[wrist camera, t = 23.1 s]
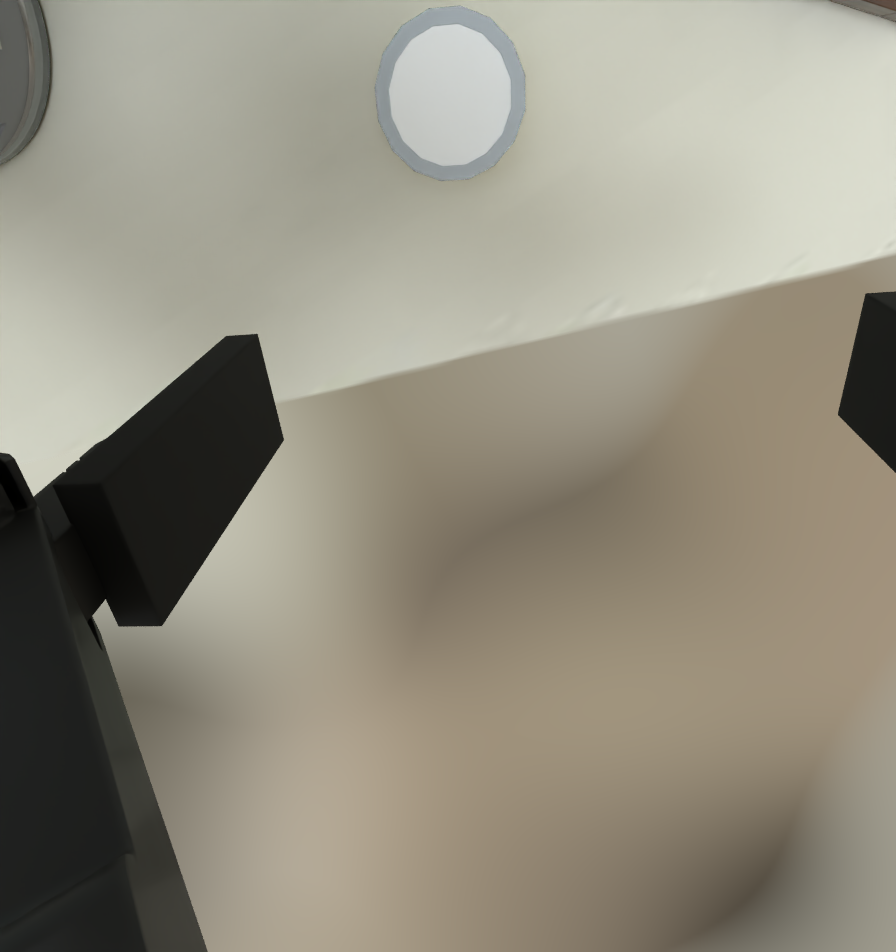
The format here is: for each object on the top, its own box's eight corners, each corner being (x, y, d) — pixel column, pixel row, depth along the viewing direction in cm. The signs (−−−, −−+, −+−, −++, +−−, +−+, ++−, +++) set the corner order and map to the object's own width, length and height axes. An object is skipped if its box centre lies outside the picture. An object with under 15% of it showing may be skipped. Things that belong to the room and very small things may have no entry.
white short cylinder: (509, 0, 33) (507, -20, 27) (536, 147, 36) (540, 158, 30) (381, 44, 34) (353, 34, 28) (418, 181, 37) (399, 199, 31)
